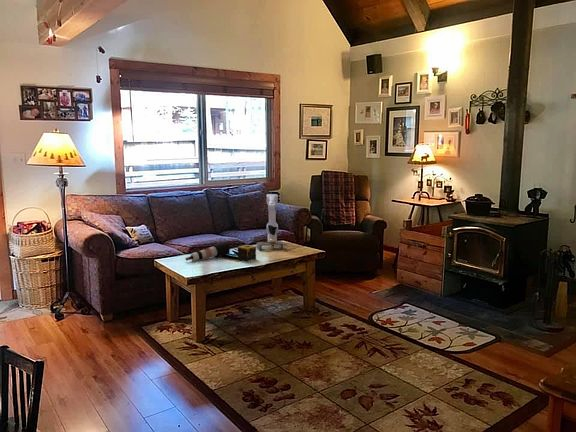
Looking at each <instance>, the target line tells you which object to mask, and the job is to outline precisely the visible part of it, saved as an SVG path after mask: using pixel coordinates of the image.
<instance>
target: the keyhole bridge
mask: <svg viewBox="0 0 576 432" xmlns="http://www.w3.org/2000/svg"><path fill="white" fill-rule="evenodd" d="M268 243H269V244H268ZM271 245H274V246H277V248H278V249H280V250H284V242H282V241H281V240H277V241H275V243H270V242H268V241H258V242H257V241H256V250H258V251H259V252H262V251H263V249H262V248H263V247H264V246H271Z"/></svg>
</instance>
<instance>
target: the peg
mask: <svg viewBox="0 0 576 432" xmlns="http://www.w3.org/2000/svg"><path fill="white" fill-rule="evenodd" d="M270 243H275V239H270ZM270 248H271V249H272V248H275V245H270Z"/></svg>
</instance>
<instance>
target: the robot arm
mask: <svg viewBox="0 0 576 432" xmlns="http://www.w3.org/2000/svg"><path fill="white" fill-rule="evenodd" d="M278 197H279V195H278V194H273V193H269V194H268V193H267V194H266V204H267V205H268V206H267V210H268V222H267V223H266V233H267V242H270V239H275V241H278V239H277V238H278V237H277V234H278V233H279V224H278V223H277V221H276V220H277V219H276V217H277V216H276V214H277V212H276V211H277V205H278V204H279V203H278V200H279V198H278ZM267 244H269V243H267Z"/></svg>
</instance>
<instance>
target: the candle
mask: <svg viewBox="0 0 576 432" xmlns="http://www.w3.org/2000/svg"><path fill="white" fill-rule="evenodd" d="M237 260H238V261H241V262H250V261H254V260H257V245H256V246H255V245H251V244H244V245H239V246H237Z"/></svg>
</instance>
